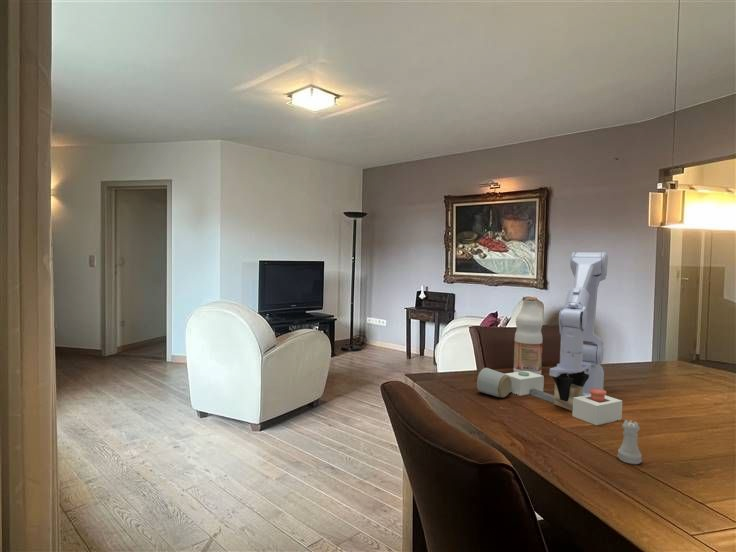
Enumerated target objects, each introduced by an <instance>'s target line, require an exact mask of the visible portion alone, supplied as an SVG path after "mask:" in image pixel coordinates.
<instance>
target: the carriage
mask: <svg viewBox="0 0 736 552" xmlns="http://www.w3.org/2000/svg"><path fill="white" fill-rule="evenodd" d="M579 396H583V387H581V386H578V385H574V384H571V386H570V391H569V398H568V401H563V400H560V396H559V392H558V388H557V385H556V383H555V382H554V403H553V404H554V405H556V406H558V407H561V408H564V409H567V410H569V411H571V412H573V398H574V397H579Z"/></svg>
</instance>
